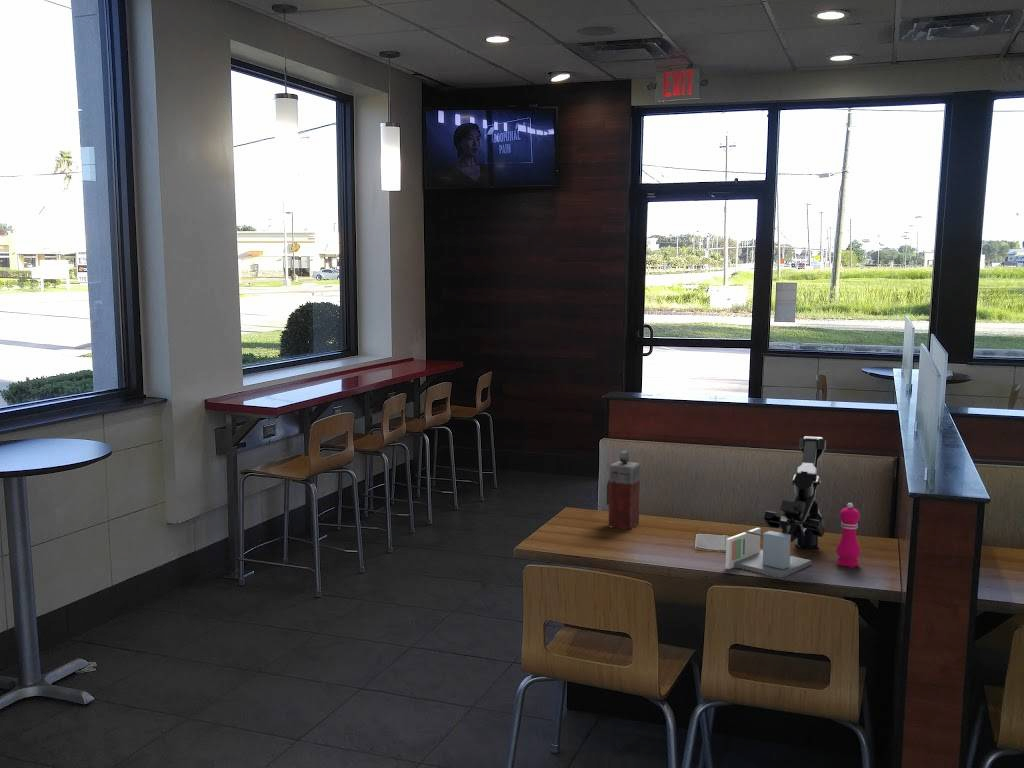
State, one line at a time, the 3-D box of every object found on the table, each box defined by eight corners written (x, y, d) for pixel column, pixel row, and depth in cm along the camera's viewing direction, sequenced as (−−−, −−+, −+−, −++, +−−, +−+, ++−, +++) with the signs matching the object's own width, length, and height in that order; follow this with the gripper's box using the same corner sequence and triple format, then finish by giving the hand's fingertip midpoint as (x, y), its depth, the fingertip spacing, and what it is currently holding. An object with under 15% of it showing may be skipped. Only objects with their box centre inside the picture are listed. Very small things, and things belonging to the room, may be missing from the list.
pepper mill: (832, 561, 289) (834, 500, 287) (855, 561, 289) (857, 500, 287) (840, 567, 282) (842, 505, 280) (863, 568, 281) (865, 505, 279)
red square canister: (610, 521, 340) (611, 447, 337) (639, 524, 335) (640, 450, 332) (602, 526, 332) (603, 451, 329) (631, 529, 327) (632, 454, 324)
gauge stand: (761, 553, 297) (762, 525, 296) (810, 564, 285) (812, 535, 284) (725, 568, 281) (726, 538, 280) (775, 580, 269) (776, 549, 268)
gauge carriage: (748, 556, 287) (749, 525, 287) (790, 566, 277) (791, 534, 276) (741, 559, 284) (741, 528, 283) (783, 569, 274) (784, 537, 273)
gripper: (766, 486, 289) (747, 525, 282) (821, 494, 276) (803, 536, 269) (777, 506, 295) (759, 545, 288) (832, 515, 282) (814, 557, 275)
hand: (783, 545), depth 280 cm, fingers closed
